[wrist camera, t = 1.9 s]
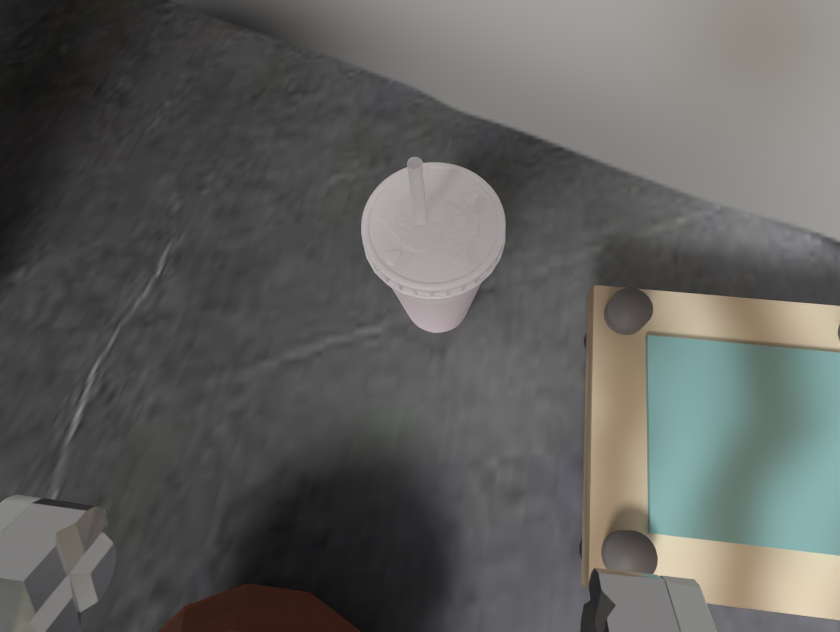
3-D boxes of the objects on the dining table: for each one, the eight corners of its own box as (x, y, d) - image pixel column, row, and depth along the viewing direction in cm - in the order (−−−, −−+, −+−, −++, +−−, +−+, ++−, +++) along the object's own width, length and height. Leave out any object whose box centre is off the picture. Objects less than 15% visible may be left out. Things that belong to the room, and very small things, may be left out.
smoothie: (393, 247, 36) (360, 85, 23) (498, 260, 35) (527, 101, 22) (374, 347, 34) (325, 233, 21) (485, 362, 33) (508, 255, 20)
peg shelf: (568, 579, 29) (595, 590, 24) (576, 315, 34) (599, 275, 29) (866, 616, 28) (963, 638, 23) (831, 338, 33) (906, 301, 27)
